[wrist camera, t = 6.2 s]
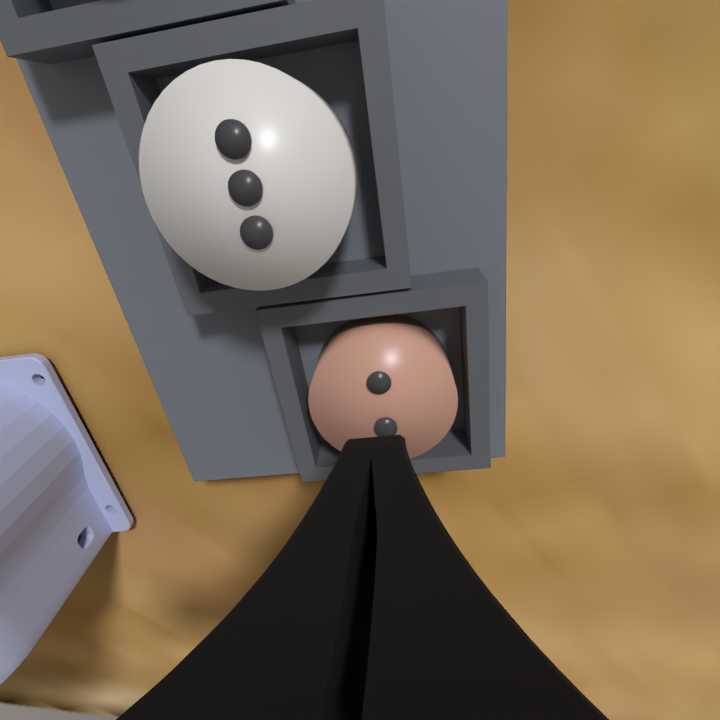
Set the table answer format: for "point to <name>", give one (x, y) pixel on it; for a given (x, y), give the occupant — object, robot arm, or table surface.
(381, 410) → the clay button
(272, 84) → the cream button
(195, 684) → the robot arm
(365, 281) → the button panel
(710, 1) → the table surface
